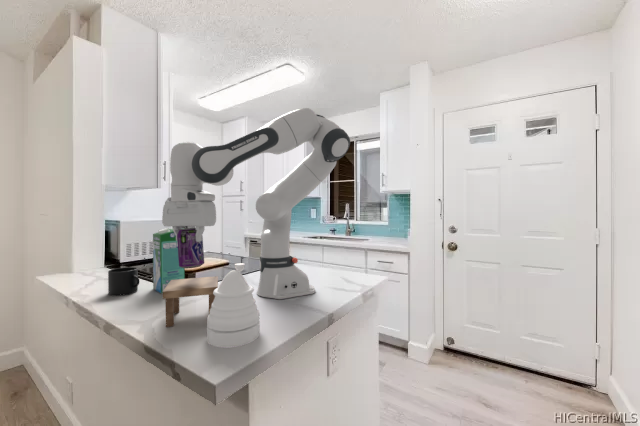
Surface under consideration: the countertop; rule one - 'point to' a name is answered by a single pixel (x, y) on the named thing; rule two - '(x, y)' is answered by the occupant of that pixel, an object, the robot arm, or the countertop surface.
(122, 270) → the mug
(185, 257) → the beverage can
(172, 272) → the milk carton
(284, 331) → the countertop surface
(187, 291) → the walnut stool
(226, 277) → the honey pot
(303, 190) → the robot arm
